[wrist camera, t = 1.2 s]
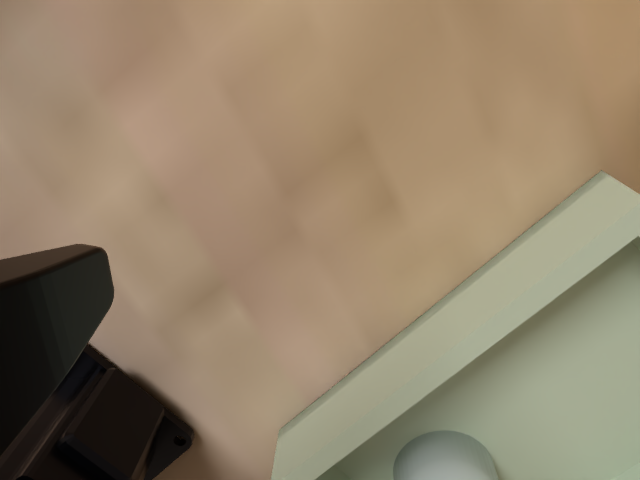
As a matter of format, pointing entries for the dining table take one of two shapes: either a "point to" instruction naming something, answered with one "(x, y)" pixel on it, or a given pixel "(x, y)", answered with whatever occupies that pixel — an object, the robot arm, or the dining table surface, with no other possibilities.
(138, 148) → the dining table surface
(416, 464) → the light grey rounded cylinder
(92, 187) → the dining table surface
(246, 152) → the dining table surface
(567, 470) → the tote
